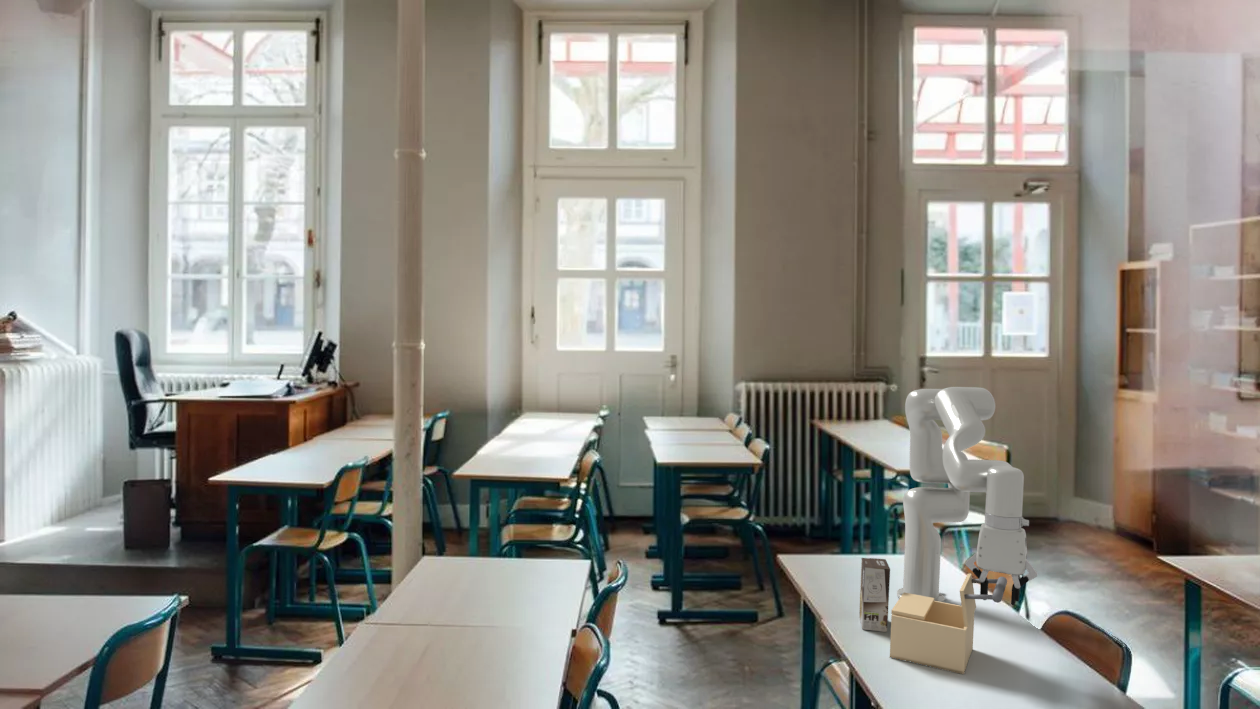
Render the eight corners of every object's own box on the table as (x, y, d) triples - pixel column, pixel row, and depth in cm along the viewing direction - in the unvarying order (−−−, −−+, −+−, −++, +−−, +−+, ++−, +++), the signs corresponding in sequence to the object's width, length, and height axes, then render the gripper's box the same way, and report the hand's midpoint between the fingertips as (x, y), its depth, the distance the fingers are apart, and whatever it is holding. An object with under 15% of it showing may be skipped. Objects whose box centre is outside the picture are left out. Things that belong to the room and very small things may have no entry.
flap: (972, 607, 189) (1011, 608, 185) (964, 626, 176) (1005, 628, 172) (967, 573, 189) (1006, 574, 185) (959, 590, 177) (1000, 591, 172)
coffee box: (888, 632, 199) (890, 569, 198) (861, 629, 200) (864, 567, 199) (884, 619, 208) (886, 558, 207) (858, 616, 209) (861, 556, 208)
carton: (902, 634, 198) (904, 591, 197) (972, 649, 190) (974, 604, 189) (888, 657, 184) (890, 611, 183) (963, 674, 176) (966, 626, 175)
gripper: (1046, 524, 177) (1042, 603, 178) (964, 512, 186) (960, 589, 187) (1045, 531, 171) (1040, 614, 172) (960, 519, 179) (956, 598, 180)
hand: (999, 600), depth 179 cm, fingers open, 5 cm apart
